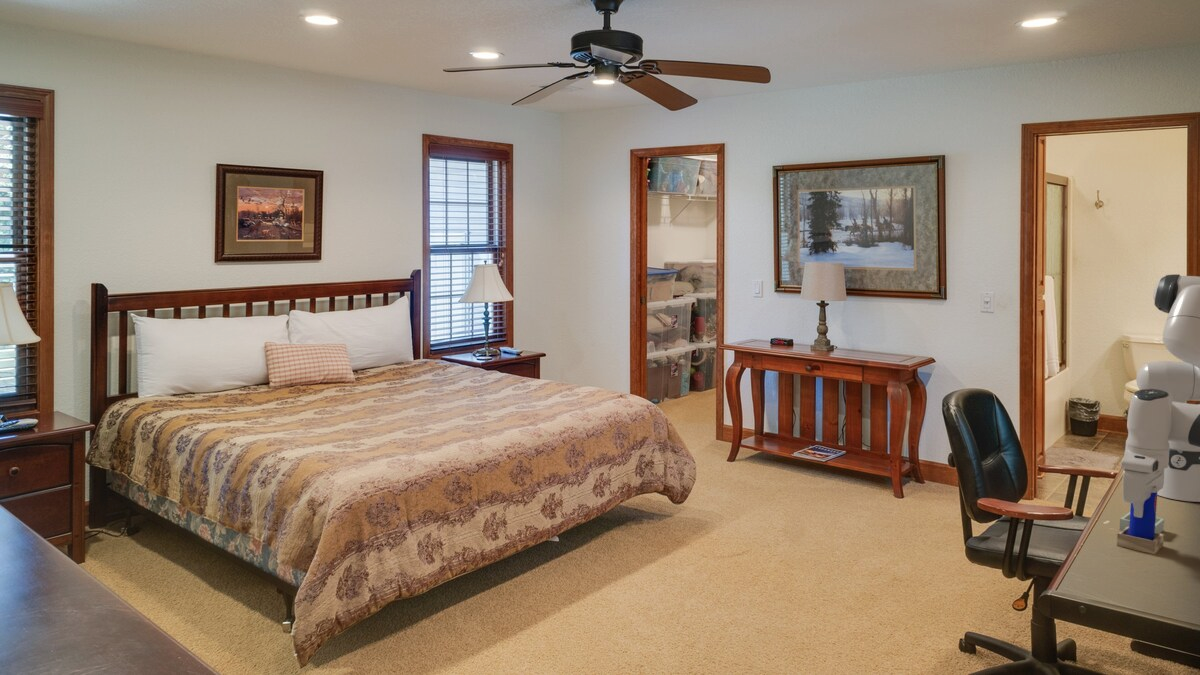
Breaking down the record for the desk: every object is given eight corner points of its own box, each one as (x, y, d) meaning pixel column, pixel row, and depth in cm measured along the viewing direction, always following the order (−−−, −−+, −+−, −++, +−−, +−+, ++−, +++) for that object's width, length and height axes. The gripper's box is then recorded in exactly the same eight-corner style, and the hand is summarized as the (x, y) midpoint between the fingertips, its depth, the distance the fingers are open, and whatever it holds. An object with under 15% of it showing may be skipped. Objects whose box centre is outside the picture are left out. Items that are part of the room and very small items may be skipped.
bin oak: (1126, 537, 209) (1127, 526, 209) (1163, 546, 203) (1164, 534, 203) (1116, 545, 204) (1117, 533, 203) (1154, 554, 198) (1154, 541, 198)
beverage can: (1157, 550, 201) (1161, 489, 199) (1132, 548, 202) (1137, 488, 200) (1148, 543, 206) (1152, 483, 204) (1124, 541, 207) (1128, 482, 205)
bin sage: (1128, 523, 220) (1129, 512, 220) (1163, 530, 214) (1164, 519, 214) (1119, 530, 215) (1120, 518, 214) (1154, 537, 209) (1155, 526, 209)
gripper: (1143, 448, 211) (1140, 501, 212) (1118, 462, 197) (1114, 520, 198) (1173, 452, 206) (1169, 507, 207) (1149, 467, 192) (1145, 526, 194)
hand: (1142, 513), depth 203 cm, fingers closed on beverage can, 5 cm apart
